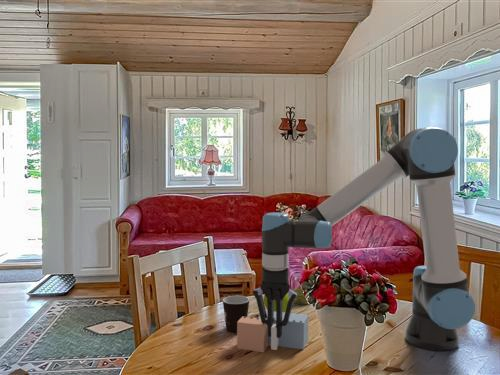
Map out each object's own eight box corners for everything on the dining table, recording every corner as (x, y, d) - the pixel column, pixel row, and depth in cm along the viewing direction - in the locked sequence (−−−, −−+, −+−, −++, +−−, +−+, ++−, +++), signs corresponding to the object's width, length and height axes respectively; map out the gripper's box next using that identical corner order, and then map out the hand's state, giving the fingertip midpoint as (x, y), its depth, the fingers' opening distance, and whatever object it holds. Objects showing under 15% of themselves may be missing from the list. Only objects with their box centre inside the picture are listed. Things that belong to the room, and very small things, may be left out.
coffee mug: (246, 335, 153) (246, 304, 152) (219, 333, 155) (219, 303, 154) (253, 322, 164) (253, 293, 163) (228, 320, 166) (228, 292, 165)
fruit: (291, 310, 176) (291, 283, 175) (287, 319, 167) (287, 291, 166) (266, 308, 178) (266, 281, 177) (261, 317, 169) (261, 289, 168)
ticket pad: (308, 340, 149) (308, 314, 149) (303, 349, 143) (303, 322, 142) (264, 335, 153) (264, 309, 153) (257, 343, 147) (257, 317, 146)
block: (268, 345, 146) (268, 318, 145) (263, 352, 141) (263, 324, 140) (242, 341, 148) (242, 315, 147) (237, 348, 143) (237, 321, 142)
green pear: (288, 301, 186) (289, 276, 185) (301, 297, 191) (302, 272, 191) (303, 306, 181) (303, 279, 180) (316, 301, 186) (316, 276, 185)
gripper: (300, 265, 140) (299, 345, 142) (257, 262, 144) (256, 340, 146) (294, 272, 133) (294, 356, 135) (249, 268, 137) (249, 350, 139)
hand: (274, 347), depth 140 cm, fingers closed
